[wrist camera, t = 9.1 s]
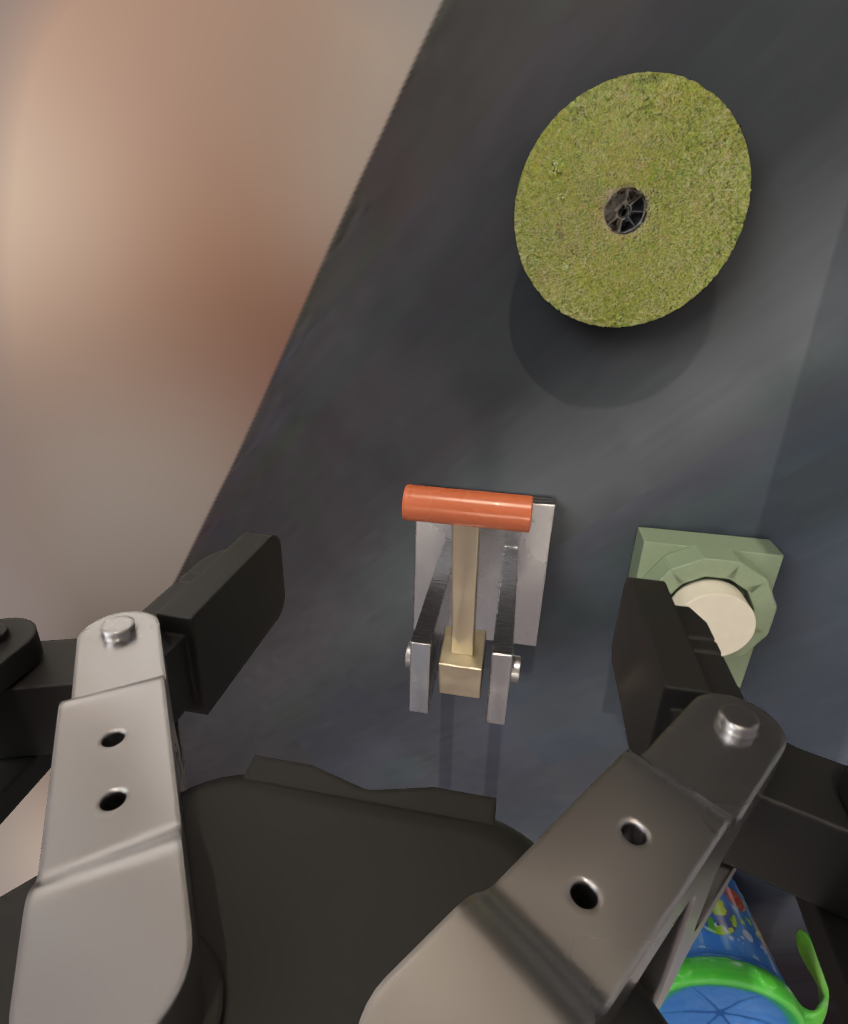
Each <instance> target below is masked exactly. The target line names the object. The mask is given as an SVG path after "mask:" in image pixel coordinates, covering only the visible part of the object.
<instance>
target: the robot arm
mask: <svg viewBox="0 0 848 1024" xmlns="http://www.w3.org/2000/svg"><path fill="white" fill-rule="evenodd" d="M284 598H285V589H284V577H283V565H282V553H281V544H280V540H279V538H278V537H277V536H274V535H265V534H256V533H244V534H242V535H241V536H240V537H239V538H238V539H237V540H236V541H235V542H234V543H233V544H231V545H230V546H229V547H228V548H227V549H226V550H220V551H218V552H216V553H214V554H211V555H209V556H207V557H205V558H203V559H201V560H200V561H199V562H198V563H197V564H196V565H194V566H193V567H192V568H191V569H190V570H189V572H188V573H185V574H184V575H183V576H182V577H181V578H180V579H178V582H177V583H174V584H173V585H172V586H170V587H169V588H168V589H167V590H166V591H165V592H164V593H163V594H161V595H160V596H159V597H158V598H157V599H156V600H155V601H153V602H152V603H151V604H150V605H149V606H148V607H147V608H145V609H144V610H143V611H142V612H141V611H129V612H121V613H116V614H112V615H109V616H106V617H104V618H101V619H99V620H97V621H95V622H94V623H92V624H90V625H89V626H87V627H86V628H85V629H84V630H83V631H82V632H81V633H80V635H79V636H78V639H65V640H50V641H40V638H39V635H38V632H37V628H36V625H35V624H34V623H33V622H32V621H30V620H27V619H22V618H5V619H0V824H1V823H2V822H3V821H4V820H5V819H6V817H7V816H8V815H9V814H10V813H11V812H12V811H13V810H14V809H15V807H16V806H17V805H18V804H19V803H20V802H21V800H22V799H23V798H24V797H25V796H26V795H27V794H28V793H29V792H30V790H31V789H32V788H33V787H34V786H35V785H36V784H37V783H38V782H39V780H40V779H41V778H42V777H43V776H44V775H45V774H46V773H47V771H48V770H49V769H50V768H51V773H50V781H49V789H48V797H47V805H46V814H45V822H44V830H43V838H42V847H41V855H40V863H39V871H38V875H37V876H36V877H34V878H32V879H30V880H29V881H27V882H25V883H24V884H22V885H20V886H19V887H17V888H15V889H13V890H11V891H10V892H8V893H6V894H5V895H3V896H1V897H0V1024H668V1023H667V1021H666V1020H665V1018H664V1017H663V1015H662V1014H661V1013H660V1011H659V1009H660V1007H661V1005H662V1004H663V1002H664V1000H665V998H666V996H667V994H668V992H669V990H670V988H671V987H672V985H673V983H674V980H675V978H676V976H677V974H678V972H679V970H680V968H681V966H682V964H683V962H684V960H685V958H686V956H687V954H688V952H689V950H690V948H691V946H692V945H693V943H694V941H695V939H696V938H697V936H698V934H699V933H700V931H701V929H702V928H703V926H704V924H705V922H706V921H707V919H708V917H709V916H710V914H711V912H712V910H713V909H714V907H715V905H716V904H717V902H718V900H719V899H720V897H721V895H722V893H723V892H724V890H725V888H726V887H727V885H728V883H729V881H730V880H731V878H732V876H733V875H734V873H735V871H736V869H738V870H741V871H743V872H745V873H747V874H749V875H751V876H753V877H756V878H758V879H760V880H762V881H764V882H766V883H768V884H771V885H773V886H775V887H777V888H779V889H781V890H783V891H786V892H788V893H790V894H792V895H794V896H796V899H797V902H798V905H799V908H800V910H801V913H802V916H803V919H804V922H805V924H806V927H807V930H808V933H809V936H810V939H811V941H812V944H813V947H814V950H815V953H816V955H817V958H818V961H819V964H820V967H821V969H822V972H823V975H824V978H825V981H826V984H827V986H828V989H829V992H830V995H831V998H832V1000H833V1003H834V1006H835V1009H836V1012H837V1014H838V1017H839V1020H840V1023H841V1024H848V765H847V766H845V765H842V764H840V763H837V762H834V761H831V760H829V759H826V758H823V757H820V756H818V755H815V754H812V753H809V752H807V751H804V750H802V749H799V748H797V747H795V746H793V745H791V744H789V743H787V742H786V737H785V734H784V732H783V730H782V728H781V727H780V726H779V724H778V723H777V722H776V721H775V720H774V719H773V718H772V717H771V716H770V715H769V714H767V713H766V712H765V711H763V710H762V709H760V708H759V707H757V706H755V705H754V704H752V703H750V702H748V701H745V700H744V698H743V696H742V694H741V692H740V690H739V688H738V686H737V684H736V682H735V680H734V678H733V676H732V673H731V671H730V669H729V667H728V665H727V663H726V661H725V659H724V657H723V656H721V651H720V649H719V647H718V645H717V643H716V642H715V641H714V640H715V639H714V636H713V634H712V632H711V630H710V628H709V626H708V624H707V622H706V621H704V620H703V619H702V618H701V617H700V616H699V615H698V614H697V613H695V612H694V611H693V610H692V609H691V608H690V607H686V606H677V605H675V604H674V601H673V599H672V597H671V594H670V592H669V589H668V587H667V585H666V583H665V582H664V581H659V580H650V579H641V578H633V577H628V578H627V580H626V582H625V585H624V589H623V594H622V599H621V603H620V608H619V613H618V618H617V623H616V627H615V632H614V637H613V646H612V662H613V669H614V674H615V679H616V684H617V689H618V694H619V699H620V704H621V709H622V714H623V719H624V724H625V729H626V734H627V739H628V744H629V749H630V750H627V751H625V752H624V753H622V754H621V755H620V756H619V757H618V758H617V759H616V760H615V761H614V762H613V763H612V764H611V765H610V766H609V767H608V769H607V770H606V771H605V772H604V773H603V774H602V775H601V776H600V777H599V778H598V779H597V780H596V781H595V782H594V783H593V784H592V785H591V786H590V787H589V788H588V789H587V790H586V791H585V792H584V793H583V794H582V795H581V796H580V797H579V798H578V799H577V800H576V801H575V802H574V803H573V804H572V805H571V806H570V807H569V808H568V809H567V810H566V811H565V812H564V814H563V815H562V816H561V817H560V818H559V819H558V820H557V821H556V822H555V823H554V824H553V825H552V826H551V827H550V828H549V829H548V830H547V831H546V832H545V833H544V834H543V835H542V836H541V837H540V838H539V839H538V840H537V841H536V842H535V843H533V842H532V841H531V840H529V839H528V838H527V837H525V836H524V835H523V834H521V833H520V832H518V831H516V830H515V829H513V828H511V827H509V826H508V825H506V824H504V823H501V822H499V821H497V820H495V811H496V798H492V797H486V796H480V795H475V794H469V793H464V792H458V791H452V790H447V789H441V788H436V787H428V788H407V789H387V790H367V789H364V788H361V787H359V786H356V785H354V784H352V783H350V782H348V781H345V780H343V779H341V778H339V777H336V776H334V775H332V774H330V773H328V772H325V771H323V770H321V769H319V768H317V767H314V766H312V765H307V764H302V763H296V762H290V761H285V760H279V759H274V758H268V757H263V756H257V755H255V757H254V759H253V761H252V762H251V764H250V766H249V768H248V769H247V771H246V773H245V774H244V775H235V776H228V777H222V778H219V779H215V780H211V781H207V782H205V783H202V784H199V785H196V786H194V787H191V788H189V789H188V782H187V775H186V768H185V761H184V754H183V746H182V739H181V732H180V727H179V721H178V719H179V718H180V717H181V715H182V714H183V713H184V712H185V711H189V712H195V713H200V714H206V715H208V714H209V712H210V711H211V709H212V708H213V707H214V705H215V704H216V703H217V701H218V700H219V698H220V697H221V696H222V694H223V693H224V692H225V690H226V689H227V688H228V686H229V685H230V683H231V682H232V681H233V679H234V678H235V677H236V675H237V674H238V673H239V671H240V670H241V668H242V667H243V666H244V664H245V663H246V662H247V660H248V659H249V658H250V656H251V655H252V653H253V652H254V651H255V649H256V648H257V647H258V645H259V644H260V642H261V641H262V640H263V638H264V637H265V636H266V634H267V633H268V632H269V630H270V629H271V627H272V626H273V625H274V623H275V622H276V621H277V619H278V618H279V616H280V614H281V612H282V608H283V605H284Z"/></svg>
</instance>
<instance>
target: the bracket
mask: <svg viewBox="0 0 848 1024" xmlns="http://www.w3.org/2000/svg"><path fill="white" fill-rule="evenodd" d="M421 486H422V485H421ZM431 487H433V486H431ZM442 488H443V487H442ZM453 489H454V488H453ZM464 490H465V489H464ZM474 491H476V490H474ZM485 492H487V491H485ZM496 493H498V492H496ZM507 494H508V493H507ZM518 495H519V494H518ZM528 496H530V495H528ZM554 513H555V498H552V497H541V496H533V509H532V519H531V527H530V531H529V532H528V533H527V532H517V531H507V530H497V529H488V528H481V535H480V553H479V572H478V590H477V609H476V627H475V629H476V630H484V631H486V632H487V634H486V640H491V641H493V649H492V659H491V669H490V679H489V690H488V700H487V710H486V722H488V723H494V724H501V725H504V724H505V720H506V712H507V703H508V694H509V686H510V683H517V684H518V683H519V679H520V669H521V656H516V655H513V645H514V644H521V645H529V646H536V645H537V638H538V631H539V623H540V616H541V609H542V601H543V594H544V587H545V579H546V572H547V564H548V557H549V550H550V542H551V535H552V528H553V520H554ZM451 617H452V525H449V524H439V523H429V522H419V521H416V532H415V571H414V610H413V630H415V631H414V634H413V637H412V640H411V641H409V642H408V644H407V648H406V653H405V667H406V668H410V690H409V711H415V712H421V713H428V710H429V705H430V701H431V697H432V693H433V689H434V684H435V680H436V676H437V672H438V668H439V666H438V663H439V658H440V652H441V647H442V642H443V636H444V631H445V626H451Z"/></svg>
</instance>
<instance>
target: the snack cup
mask: <svg viewBox="0 0 848 1024" xmlns="http://www.w3.org/2000/svg"><path fill="white" fill-rule="evenodd" d="M796 943H797V948H798V951H799V953H800V955H801V957H802V959H803V961H804V963H805V965H806V967H807V968H808V970H809V972H810V974H811V975H812V977H813V979H814V981H815V982H816V984H817V989H818V999H819V1004H818V1006H817V1007H816V1009H815V1010H812V1011H811V1010H808V1009H806V1008H804V1007H803V1006H802V1005H801V1004H800V1003H799V1002H798V1001H797V999H796V997H795V996H794V994H793V993H792V991H791V990H790V989H789V987H788V986H787V985H786V984H785V982H784V980H783V978H782V976H781V974H780V972H779V971H778V968H777V966H776V964H775V962H774V960H773V958H772V955H771V953H770V951H769V949H768V947H767V945H766V943H765V941H764V939H763V936H762V934H761V932H760V930H759V928H758V926H757V924H756V922H755V920H754V918H753V916H752V914H751V913H750V911H749V908H748V906H747V904H746V902H745V899H744V897H743V895H742V893H741V892H740V891H739V889H738V887H737V884H736V883H735V881H734V880H733V879H732V878H731V880H730V881H729V883H728V885H727V887H726V888H725V890H724V892H723V893H722V895H721V897H720V899H719V900H718V902H717V904H716V905H715V907H714V909H713V910H712V912H711V914H710V916H709V917H708V919H707V921H706V922H705V924H704V926H703V928H702V929H701V931H700V933H699V934H698V936H697V938H696V939H695V941H694V943H693V945H692V946H691V948H690V950H689V952H688V954H687V956H686V958H685V960H684V962H683V964H682V966H681V968H680V970H679V972H678V974H677V976H676V978H675V980H674V983H673V985H672V987H671V988H670V990H669V992H668V994H667V996H666V998H665V1000H664V1002H663V1004H662V1005H661V1007H660V1009H659V1011H660V1013H661V1014H662V1015H663V1017H664V1018H665V1020H666V1021H667V1023H668V1024H822V1023H823V1021H824V1019H825V1016H826V1013H827V1008H828V1001H829V989H828V986H827V984H826V981H825V978H824V975H823V972H822V969H821V967H820V964H819V961H818V958H817V955H816V953H815V950H814V947H813V944H812V941H811V939H810V937H809V935H808V934H807V933H806V932H805V931H803V930H798V931H797V933H796Z"/></svg>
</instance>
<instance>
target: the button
mask: <svg viewBox="0 0 848 1024" xmlns="http://www.w3.org/2000/svg"><path fill="white" fill-rule="evenodd" d="M672 599H673V601H674V604H675V605H677V606H686V607H690V608H691V609H692V610H693V611H694V612H695V613H697V614H698V615H699V616H700V617H701V618H702V619H703V620H704V621H706V622H707V624H708V626H709V628H710V630H711V632H712V634H713V636H714V639H715V640H714V641H715V642H716V643H717V645H718V647H719V649H720V651H721V656H725V655H729V654H732V653H734V652H736V651H738V650H739V649H741V648H742V647H744V646H745V645H746V644H747V643H748V642H749V641H750V639H751V638H752V636H753V634H754V632H755V628H756V618H755V614H754V612H753V610H752V609H751V607H750V606H749V604H748V602H747V601H746V599H745V598H744V596H743V595H742V593H741V592H740V591H739V590H738V589H737V588H736V587H735V586H733V585H732V584H730V583H728V582H725V581H722V580H718V579H701V580H696V581H693V582H690V583H688V584H686V585H684V586H683V587H681V588H680V589H679V590H678V591H677V592H676V593H675V594H674V595H673V597H672Z"/></svg>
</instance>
